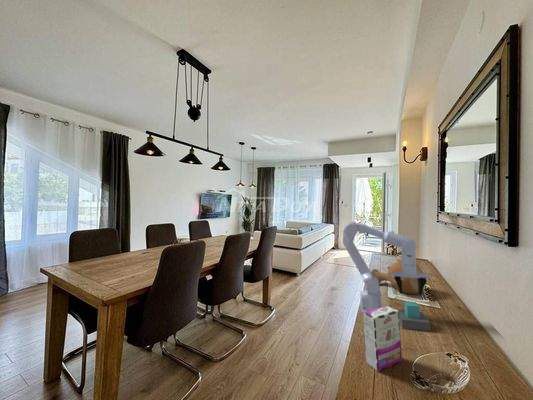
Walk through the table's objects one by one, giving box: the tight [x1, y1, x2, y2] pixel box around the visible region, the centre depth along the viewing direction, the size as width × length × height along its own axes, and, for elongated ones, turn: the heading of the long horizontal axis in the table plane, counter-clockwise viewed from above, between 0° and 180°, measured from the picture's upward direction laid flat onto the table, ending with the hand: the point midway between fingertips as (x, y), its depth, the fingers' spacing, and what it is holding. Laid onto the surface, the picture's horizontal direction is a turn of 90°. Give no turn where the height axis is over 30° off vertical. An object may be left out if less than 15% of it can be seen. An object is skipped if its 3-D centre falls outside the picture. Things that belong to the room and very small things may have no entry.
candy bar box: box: [362, 305, 403, 372], centre depth 75 cm, size 11×5×16 cm, turn 114°
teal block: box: [403, 300, 421, 319], centre depth 99 cm, size 4×4×5 cm
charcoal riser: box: [396, 309, 431, 332], centre depth 99 cm, size 10×10×4 cm
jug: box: [371, 260, 425, 295], centre depth 140 cm, size 20×19×30 cm
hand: (410, 293), depth 106 cm, fingers open, 7 cm apart
